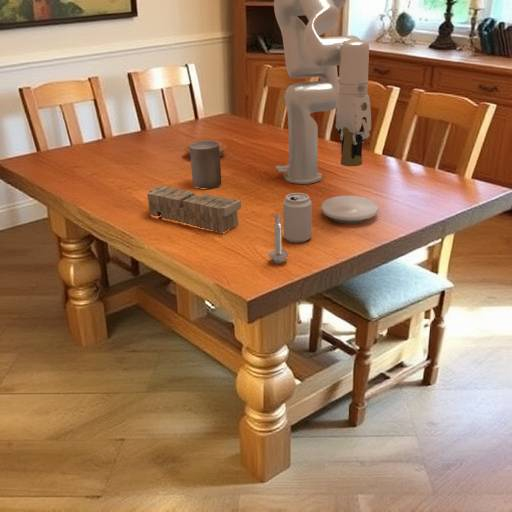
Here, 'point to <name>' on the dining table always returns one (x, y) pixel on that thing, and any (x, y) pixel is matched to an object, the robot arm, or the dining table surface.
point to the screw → (278, 243)
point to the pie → (221, 145)
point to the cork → (349, 150)
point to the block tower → (194, 208)
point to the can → (297, 217)
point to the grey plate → (349, 209)
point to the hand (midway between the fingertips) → (351, 155)
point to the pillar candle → (205, 164)
